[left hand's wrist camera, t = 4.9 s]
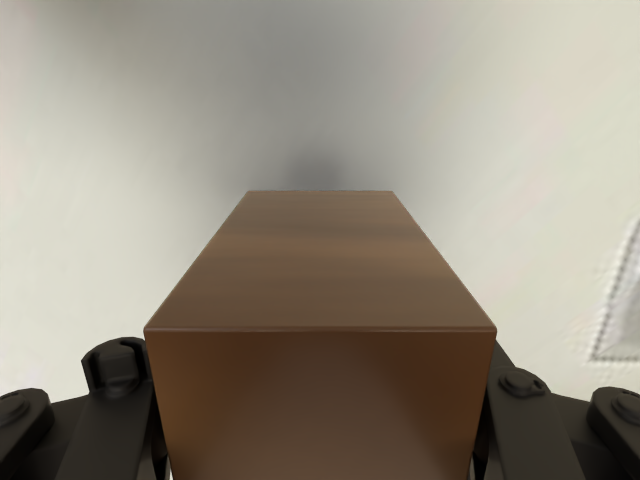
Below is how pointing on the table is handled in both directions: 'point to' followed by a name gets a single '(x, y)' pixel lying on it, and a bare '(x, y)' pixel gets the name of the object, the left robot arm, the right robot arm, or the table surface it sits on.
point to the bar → (320, 347)
